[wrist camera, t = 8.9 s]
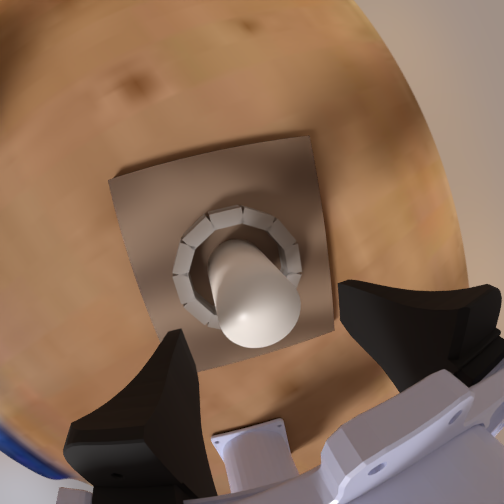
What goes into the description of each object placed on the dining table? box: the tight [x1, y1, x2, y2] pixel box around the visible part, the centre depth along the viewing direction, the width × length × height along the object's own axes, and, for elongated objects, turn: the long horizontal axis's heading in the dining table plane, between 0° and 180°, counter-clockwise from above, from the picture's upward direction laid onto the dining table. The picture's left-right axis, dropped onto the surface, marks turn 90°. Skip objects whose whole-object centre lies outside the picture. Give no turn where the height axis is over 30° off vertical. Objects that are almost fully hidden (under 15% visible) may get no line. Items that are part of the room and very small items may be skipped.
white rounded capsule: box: [207, 239, 301, 348], centre depth 16 cm, size 4×4×7 cm
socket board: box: [108, 136, 334, 372], centre depth 19 cm, size 16×14×2 cm
